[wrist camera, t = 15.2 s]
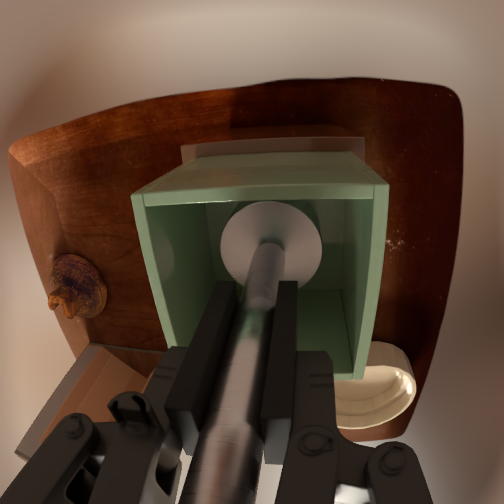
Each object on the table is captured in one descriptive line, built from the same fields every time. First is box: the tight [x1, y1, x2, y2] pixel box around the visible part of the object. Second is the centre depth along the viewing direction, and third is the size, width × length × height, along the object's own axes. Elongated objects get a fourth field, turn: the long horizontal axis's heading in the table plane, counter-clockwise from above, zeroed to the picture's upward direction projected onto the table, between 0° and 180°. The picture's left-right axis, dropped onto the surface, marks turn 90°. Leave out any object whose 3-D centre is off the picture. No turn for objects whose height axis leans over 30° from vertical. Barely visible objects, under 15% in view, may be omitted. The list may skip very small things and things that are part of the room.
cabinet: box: [15, 342, 165, 462], centre depth 42 cm, size 21×10×28 cm, turn 95°
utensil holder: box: [131, 124, 389, 381], centre depth 25 cm, size 12×12×25 cm
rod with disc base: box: [178, 199, 323, 504], centre depth 13 cm, size 6×6×19 cm
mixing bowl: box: [334, 341, 416, 429], centre depth 45 cm, size 16×16×6 cm
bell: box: [48, 254, 107, 319], centre depth 44 cm, size 12×12×7 cm
